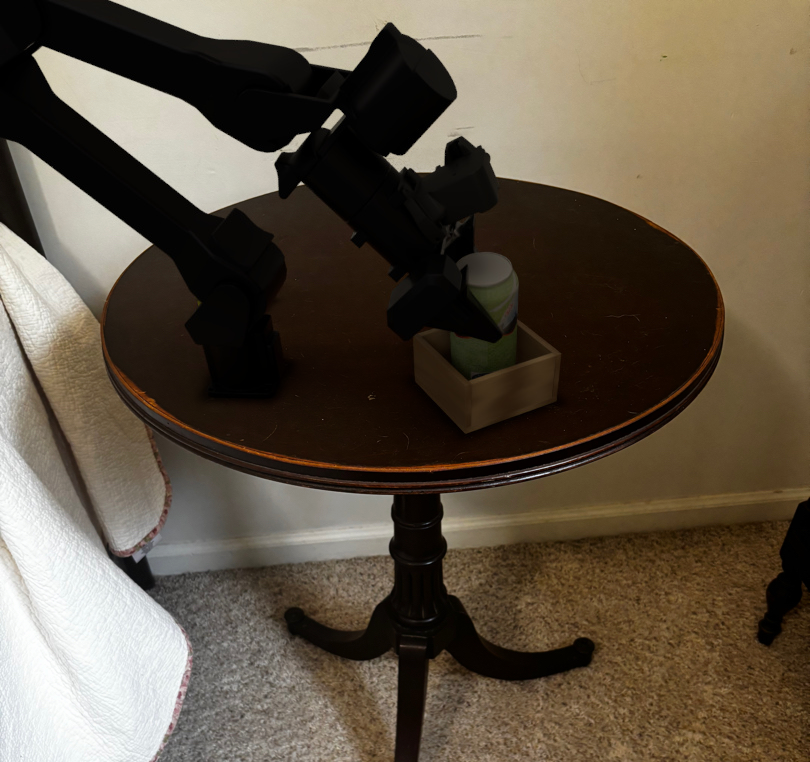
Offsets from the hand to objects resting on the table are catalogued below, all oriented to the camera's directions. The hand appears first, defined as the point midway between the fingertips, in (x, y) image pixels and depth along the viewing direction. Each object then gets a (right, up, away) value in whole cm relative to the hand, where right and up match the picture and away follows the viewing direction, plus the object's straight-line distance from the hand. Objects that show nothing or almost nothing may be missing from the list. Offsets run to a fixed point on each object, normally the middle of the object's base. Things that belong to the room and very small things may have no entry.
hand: (500, 321), depth 71 cm
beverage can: (-1, -4, +5) cm, 7 cm away
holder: (-1, -5, +5) cm, 8 cm away
